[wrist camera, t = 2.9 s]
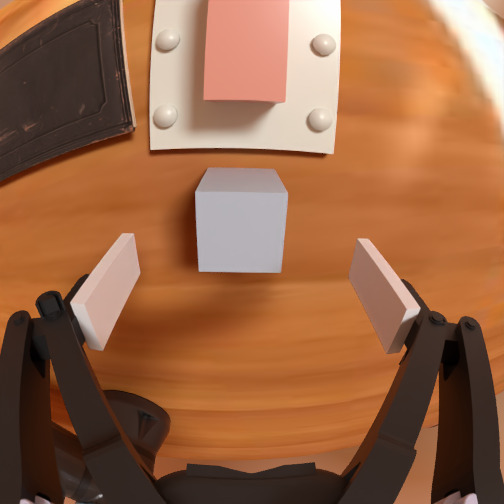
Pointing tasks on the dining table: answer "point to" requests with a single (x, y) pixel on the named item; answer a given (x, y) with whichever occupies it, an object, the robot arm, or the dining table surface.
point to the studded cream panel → (245, 74)
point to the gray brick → (240, 220)
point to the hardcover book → (64, 85)
